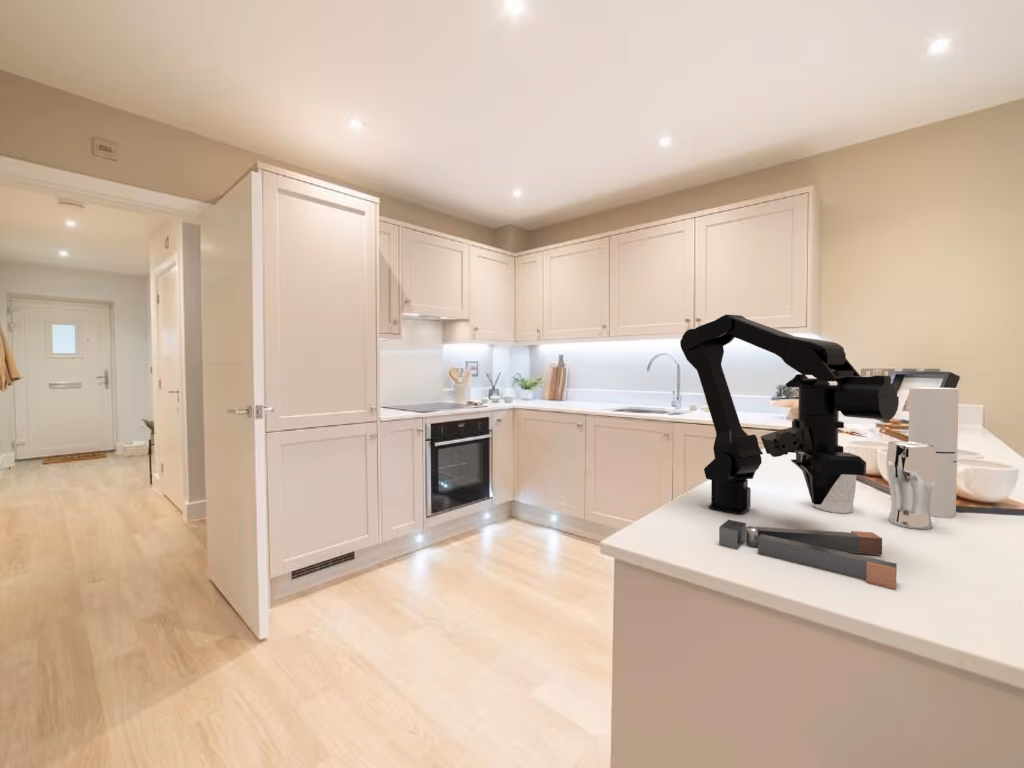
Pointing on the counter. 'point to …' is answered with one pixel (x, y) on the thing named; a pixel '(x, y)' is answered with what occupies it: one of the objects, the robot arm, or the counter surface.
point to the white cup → (840, 496)
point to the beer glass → (911, 483)
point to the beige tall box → (937, 440)
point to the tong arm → (822, 539)
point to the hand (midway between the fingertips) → (816, 503)
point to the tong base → (813, 555)
